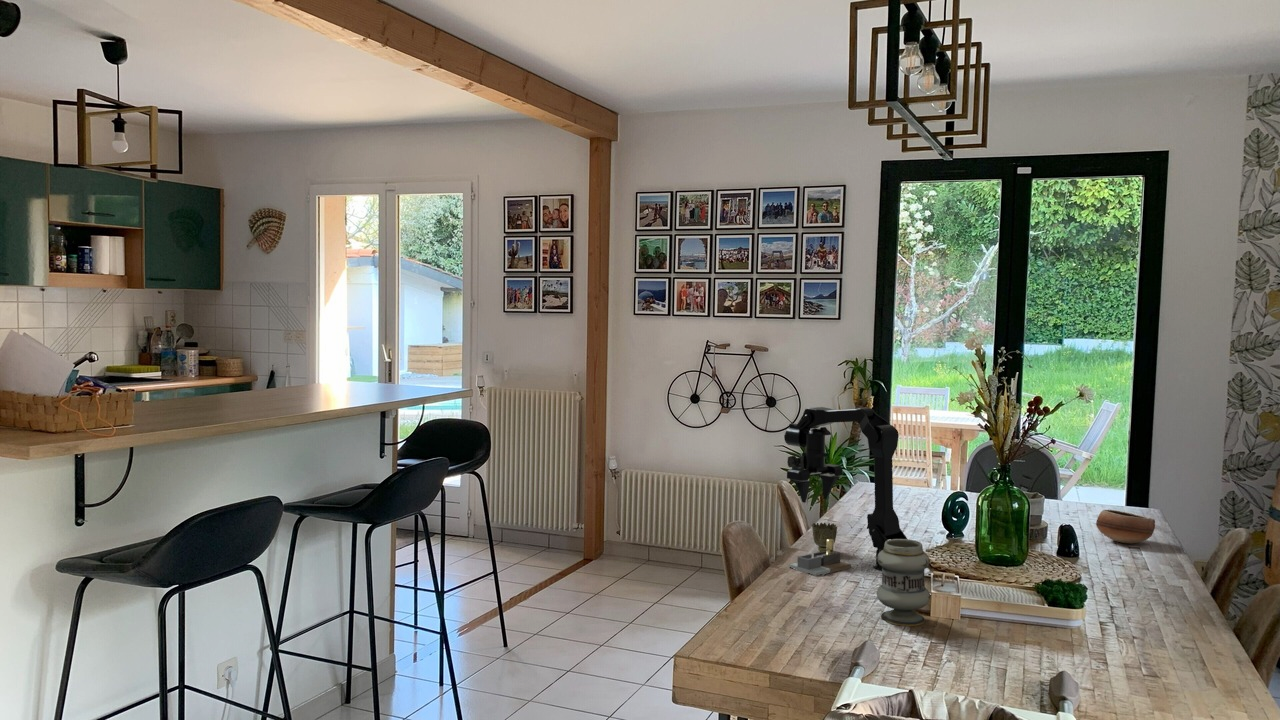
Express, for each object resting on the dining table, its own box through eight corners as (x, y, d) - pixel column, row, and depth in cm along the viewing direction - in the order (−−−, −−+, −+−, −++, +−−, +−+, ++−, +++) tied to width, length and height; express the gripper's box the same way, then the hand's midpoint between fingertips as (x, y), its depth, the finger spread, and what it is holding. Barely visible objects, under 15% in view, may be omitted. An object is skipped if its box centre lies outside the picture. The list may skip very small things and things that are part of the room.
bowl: (1164, 546, 292) (1165, 514, 292) (1126, 550, 286) (1127, 517, 286) (1121, 535, 307) (1122, 504, 306) (1084, 539, 301) (1085, 507, 300)
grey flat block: (850, 567, 265) (850, 554, 265) (831, 572, 260) (831, 558, 260) (823, 560, 273) (823, 547, 273) (804, 564, 268) (804, 551, 268)
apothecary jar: (865, 614, 224) (866, 538, 223) (908, 609, 228) (909, 534, 227) (896, 630, 212) (898, 550, 212) (941, 624, 217) (942, 546, 216)
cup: (839, 554, 279) (839, 527, 279) (813, 554, 280) (814, 527, 279) (834, 548, 287) (834, 522, 286) (809, 548, 287) (810, 521, 287)
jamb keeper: (830, 572, 260) (830, 558, 260) (816, 575, 256) (816, 561, 256) (803, 564, 268) (803, 551, 268) (789, 567, 264) (789, 554, 264)
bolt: (835, 561, 267) (835, 540, 266) (820, 564, 263) (821, 543, 263) (828, 559, 268) (829, 538, 268) (814, 562, 265) (814, 541, 265)
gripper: (816, 443, 297) (815, 493, 298) (773, 448, 286) (773, 499, 287) (844, 447, 288) (843, 498, 289) (801, 452, 277) (800, 506, 278)
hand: (814, 500), depth 286 cm, fingers open, 9 cm apart
